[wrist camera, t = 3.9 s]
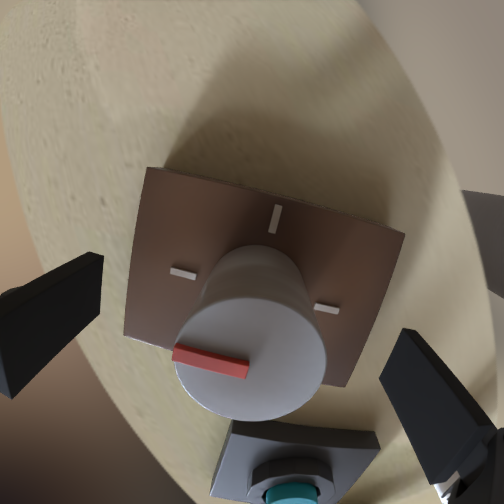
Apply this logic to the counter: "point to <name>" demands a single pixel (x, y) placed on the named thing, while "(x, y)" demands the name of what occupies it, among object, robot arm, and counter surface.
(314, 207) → the dial panel
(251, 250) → the dial
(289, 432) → the push button box
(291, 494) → the teal round puck
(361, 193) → the counter surface
